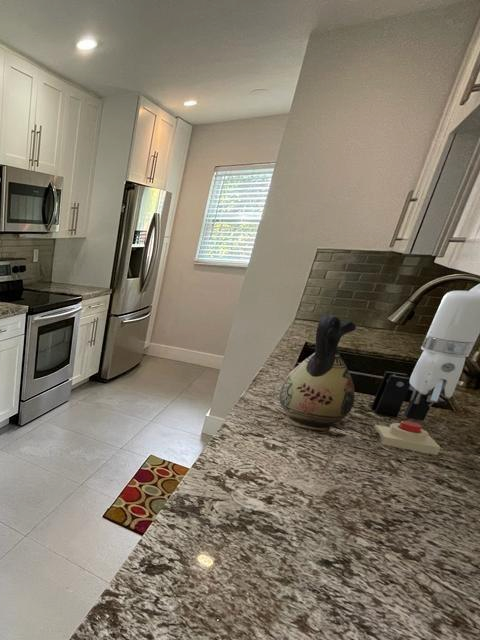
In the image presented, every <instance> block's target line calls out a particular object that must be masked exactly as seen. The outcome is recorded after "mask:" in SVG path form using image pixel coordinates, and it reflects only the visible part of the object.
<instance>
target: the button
mask: <svg viewBox="0 0 480 640" xmlns="http://www.w3.org/2000/svg"><path fill="white" fill-rule="evenodd" d="M422 427H423V426H422V425H421V424H420V423H416V422H414V421H411V420H410V421H409V420H401V421H400V426H399V428H400V429H402V430H405V431H408V432H413V433H419V432H420V430H421V429H422Z"/></svg>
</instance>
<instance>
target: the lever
mask: <svg viewBox="0 0 480 640" xmlns="http://www.w3.org/2000/svg"><path fill="white" fill-rule="evenodd" d="M392 376H396V375H394V374H393V375H392ZM387 382H388V380H387ZM408 391H412V392H413V391H414V390H413V386H412V385H410V388H409V390H408ZM436 404H437V406H439V407H445V406H446V405H447V401H445V400H444V399H443V398H442V397H440V396H439V398H438V401H437V403H436Z"/></svg>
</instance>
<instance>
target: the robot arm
mask: <svg viewBox="0 0 480 640" xmlns="http://www.w3.org/2000/svg"><path fill="white" fill-rule="evenodd" d="M479 335H480V283H478V284H477V285H475V286H473V287H472V288H470V289H469V290H451V291H448V292H446V293H445V294H444V296H443V297H442V299H441V301H440V304H439V306H438V309H437V310H436V313H435V314H434V318H433V320H432V322H431V324H430V326H429V329H428V331H427V333H426V336H425V337H424V340H423V342H422V345H421V347H420V350H422V353H421V355H420V356H419V358H418V360H417V362H416V364H415V366H414V368H413V370H412V372H411V375H410V377H409V378H410V381H409V382H410V384H411V386H413V390H414V391H412V393H411V396H410V400H409V402H408V404H407V407H406V409H405V411H404V412H403V416H405V417H406V419H410V420H411V419H412V420H417V421H422V422H423V421H425V419H426V417H427V415H428V413H429V410H430V408H431V407H432V405H434V404H437V401H438V398H439V397H440V396H441V397H443V398H444V399H450V398H451V397H452V396H453V394H454V392H455V390H456V387H457V385H458V383H459V380H460V378H461V376H462V372H463V369H464V366H465V362H466V358H468V357H469V356H470V354H471V352H472V351H473V347H474V345H475V344H476V342H477V339H478V337H479Z"/></svg>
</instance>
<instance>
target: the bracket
mask: <svg viewBox="0 0 480 640" xmlns="http://www.w3.org/2000/svg"><path fill="white" fill-rule="evenodd" d="M393 374H394V375H396V376H392V375H393ZM387 380H388V382H387ZM409 381H410V377H408V373H401V372H395V371H394V372H393V371H384V374H383V377H382V379H381V381H380V383H379V387H378V389H377V391H376V394H375V396H374V399H373V401H372V404H371V406H370V409H372V410H375V411H374V414H375V415H380V416H386V417H391V418H397V417H398V415H399V413H400V410H401V408H402V406H403V403H404V402H405V399H406V397H407V394H408V392H409V391H410V390H409V388H410V385H411V384H410V382H409ZM411 386H412V385H411Z"/></svg>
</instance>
